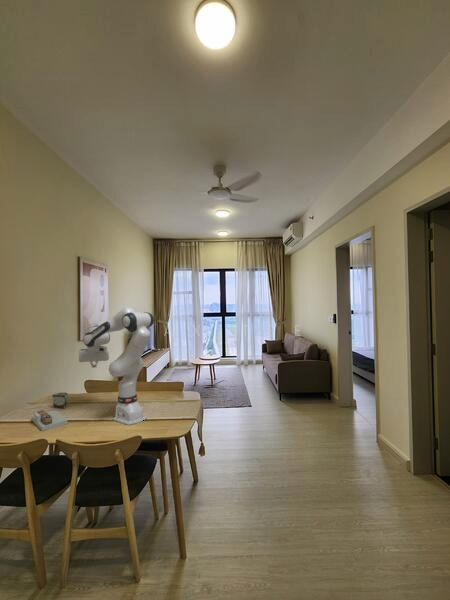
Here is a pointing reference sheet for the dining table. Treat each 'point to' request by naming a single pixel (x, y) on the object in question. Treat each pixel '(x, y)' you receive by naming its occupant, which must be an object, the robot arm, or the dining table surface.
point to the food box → (56, 420)
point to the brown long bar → (45, 417)
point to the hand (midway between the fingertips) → (94, 367)
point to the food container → (60, 400)
